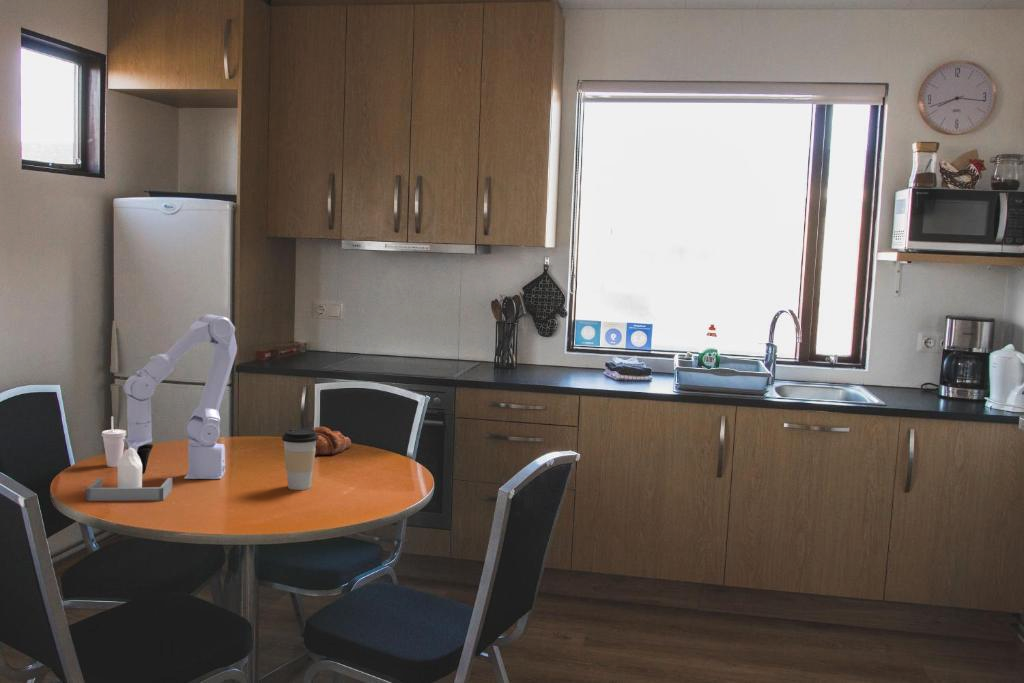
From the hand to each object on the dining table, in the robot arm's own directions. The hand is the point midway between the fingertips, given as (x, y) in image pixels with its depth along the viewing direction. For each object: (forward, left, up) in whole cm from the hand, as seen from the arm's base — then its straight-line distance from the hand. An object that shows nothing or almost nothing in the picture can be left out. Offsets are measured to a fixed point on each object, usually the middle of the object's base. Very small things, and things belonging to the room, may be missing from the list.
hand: (140, 473), depth 236 cm
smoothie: (+12, -21, -3) cm, 24 cm away
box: (0, +9, -3) cm, 10 cm away
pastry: (-45, -38, -4) cm, 59 cm away
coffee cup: (-41, +3, -3) cm, 41 cm away
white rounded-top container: (0, +8, -3) cm, 9 cm away
